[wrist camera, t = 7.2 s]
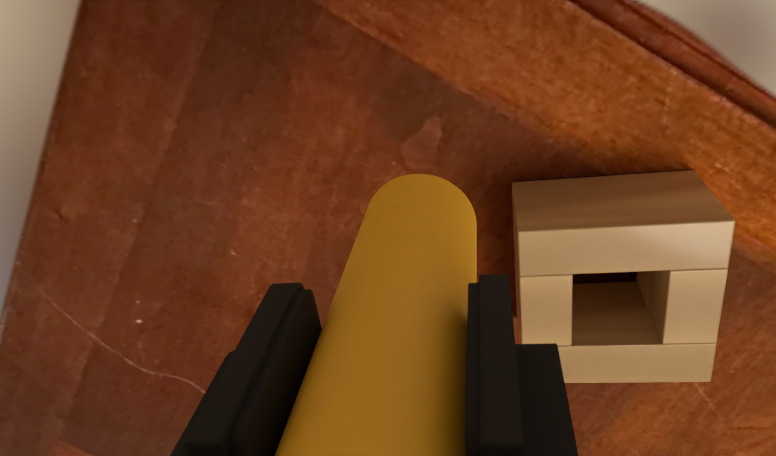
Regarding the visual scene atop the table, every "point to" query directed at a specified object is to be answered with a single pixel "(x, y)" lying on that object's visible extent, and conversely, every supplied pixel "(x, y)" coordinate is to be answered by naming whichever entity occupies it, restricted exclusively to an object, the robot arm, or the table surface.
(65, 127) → the table surface
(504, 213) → the table surface
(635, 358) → the stand
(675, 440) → the table surface
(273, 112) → the table surface
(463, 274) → the peg
